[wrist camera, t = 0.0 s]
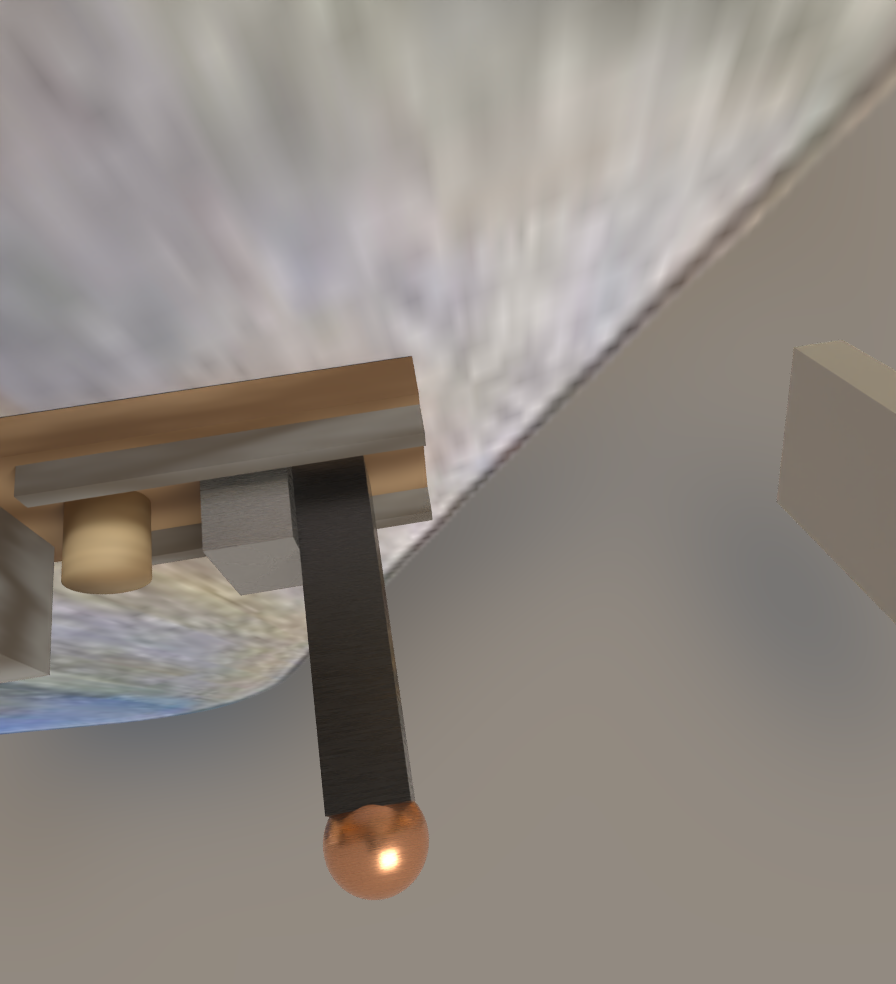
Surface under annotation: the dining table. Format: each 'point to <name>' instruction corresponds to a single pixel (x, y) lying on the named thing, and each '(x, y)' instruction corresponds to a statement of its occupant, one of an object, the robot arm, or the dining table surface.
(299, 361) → the dining table surface
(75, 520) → the tan rounded cylinder
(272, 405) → the base
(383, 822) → the handle
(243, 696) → the dining table surface
